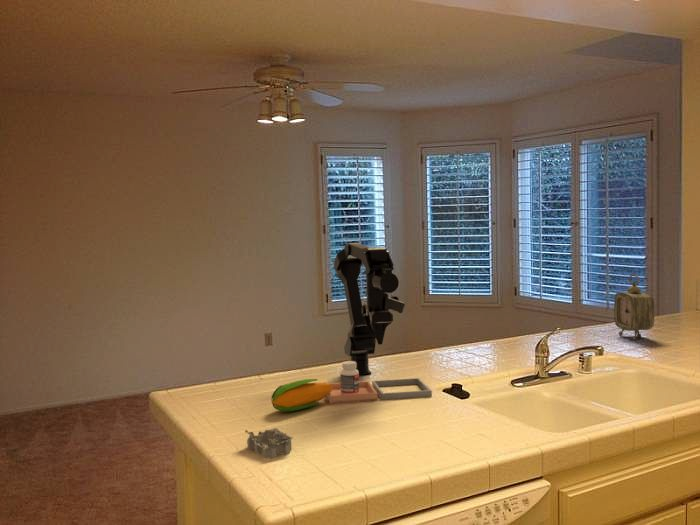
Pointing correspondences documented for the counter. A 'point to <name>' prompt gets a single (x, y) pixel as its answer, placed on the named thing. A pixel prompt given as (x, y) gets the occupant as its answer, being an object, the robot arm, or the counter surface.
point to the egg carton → (270, 442)
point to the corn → (299, 395)
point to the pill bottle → (349, 378)
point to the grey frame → (396, 395)
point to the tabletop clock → (634, 310)
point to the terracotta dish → (364, 394)
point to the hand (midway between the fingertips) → (377, 341)
